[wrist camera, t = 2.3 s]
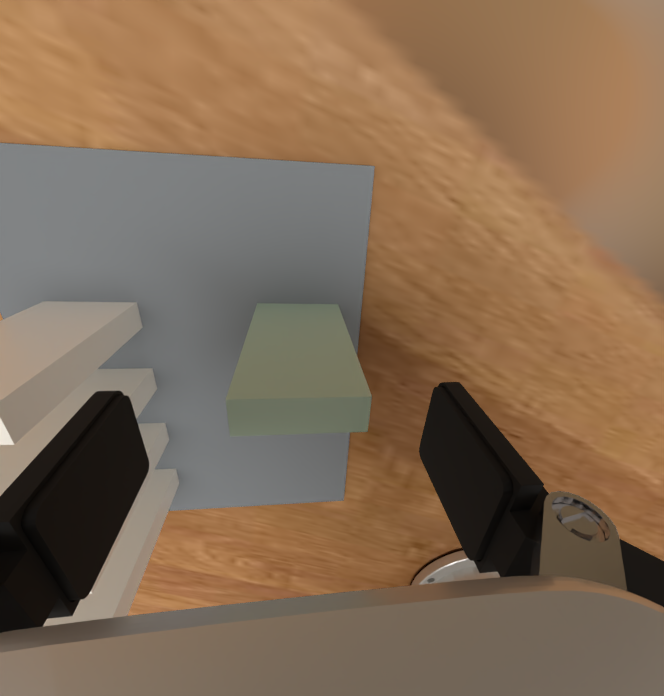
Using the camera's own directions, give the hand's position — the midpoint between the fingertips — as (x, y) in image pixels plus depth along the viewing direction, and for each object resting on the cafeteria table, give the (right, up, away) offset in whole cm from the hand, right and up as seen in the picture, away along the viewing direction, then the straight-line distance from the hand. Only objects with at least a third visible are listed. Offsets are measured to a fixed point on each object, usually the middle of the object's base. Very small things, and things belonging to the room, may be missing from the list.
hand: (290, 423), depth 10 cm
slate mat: (-8, +1, +12) cm, 14 cm away
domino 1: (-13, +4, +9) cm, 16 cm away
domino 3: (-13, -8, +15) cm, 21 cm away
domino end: (-1, +4, +10) cm, 11 cm away
